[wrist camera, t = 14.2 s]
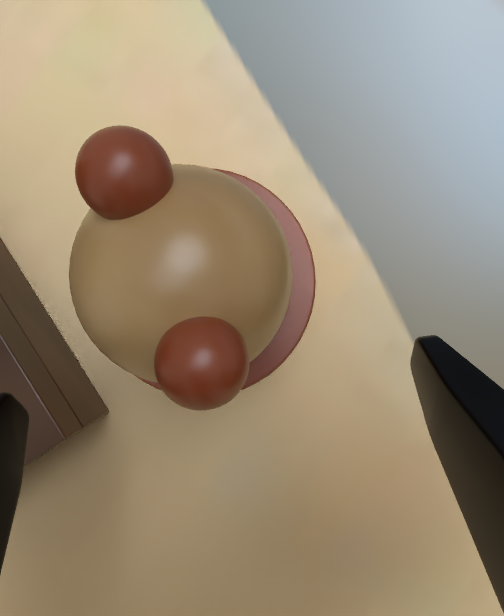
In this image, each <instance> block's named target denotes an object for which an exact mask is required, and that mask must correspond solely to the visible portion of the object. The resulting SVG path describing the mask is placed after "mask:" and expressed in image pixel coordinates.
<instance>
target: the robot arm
mask: <svg viewBox="0 0 504 616" xmlns="http://www.w3.org/2000/svg"><path fill="white" fill-rule="evenodd" d="M411 371H412V375H413V378H414V382H415V385H416V389H417V392H418V396H419V399H420V403H421V406H422V410H423V413H424V417H425V420H426V424H427V427H428V430H429V434H430V436H431V439H432V442H433V444H434V447H435V449H436V452H437V454H438V456H439V459H440V461H441V464H442V466H443V468H444V471H445V473H446V476H447V478H448V480H449V483H450V485H451V488H452V490H453V492H454V495H455V497H456V500H457V502H458V504H459V507H460V509H461V512H462V514H463V517H464V519H465V521H466V524H467V526H468V529H469V531H470V533H471V536H472V538H473V541H474V543H475V545H476V548H477V550H478V553H479V555H480V557H481V560H482V562H483V565H484V567H485V569H486V572H487V574H488V577H489V579H490V581H491V584H492V586H493V589H494V591H495V593H496V596H497V598H498V601H499V603H500V605H501V608H502V610H503V613H504V389H502V388H501V387H500V386H499V385H497V384H496V383H495V382H494V381H492V380H491V379H490V378H489V377H488V376H486V375H485V374H484V373H483V372H481V371H480V370H479V369H478V368H476V367H475V366H474V365H473V364H471V363H470V362H469V361H468V360H467V359H465V358H464V357H463V356H461V355H460V354H459V353H458V352H457V351H455V350H454V349H453V348H452V347H451V346H449V345H448V344H447V343H446V342H444V341H443V340H442V339H441V338H439V337H437V336H435V335H431V336H423V337H418V338H417V339H416V340H415V343H414V347H413V352H412V357H411ZM29 420H30V419H29V413H28V411H27V410H26V409H25V407H24V406H23V405H22V404H21V403H20V402H19V401H18V400H17V399H16V398H15V397H14V396H13V395H12V394H11V393H9V392H2V393H0V574H1V569H2V565H3V561H4V557H5V552H6V548H7V544H8V540H9V536H10V531H11V527H12V523H13V519H14V514H15V510H16V506H17V502H18V498H19V493H20V488H21V483H22V477H23V469H24V462H25V454H26V446H27V438H28V430H29Z"/></svg>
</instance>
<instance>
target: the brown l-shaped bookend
mask: <svg viewBox="0 0 504 616" xmlns="http://www.w3.org/2000/svg"><path fill="white" fill-rule="evenodd" d="M2 392H9V393H11V394H12V395H13V396H14V397H15V398H16V399H17V400H18V401H19V402H20V403H21V404H22V405H23V406H24V407H25V409H26V410H27V411H28V413H29V419H30V420H29V430H28V438H27V446H26V454H25V462H24V467H25V466H26V465H28V464H29V463H31V462H32V461H34V460H36V459H37V458H39V457H40V456H42V455H43V454H45V453H46V452H48V451H50V450H51V449H53V448H54V447H56V446H57V445H59V444H60V443H62V442H64V441H65V440H67V439H68V438H70V437H71V436H73V435H74V434H76V433H78V432H79V431H81V430H82V429H84V428H85V427H87V426H88V425H90V424H92V423H93V422H95V421H96V420H98V419H99V418H101V417H102V416H104V415H106V414H107V413H108V412H109V411H108V409H107V407H106V406H105V404H104V403H103V401H102V399H101V398H100V396H99V395H98V393H97V392H96V390H95V388H94V387H93V385H92V384H91V382H90V380H89V379H88V377H87V376H86V374H85V372H84V371H83V369H82V368H81V366H80V364H79V363H78V361H77V360H76V358H75V357H74V355H73V353H72V352H71V350H70V349H69V347H68V345H67V344H66V342H65V341H64V339H63V337H62V336H61V334H60V333H59V331H58V329H57V328H56V326H55V325H54V323H53V322H52V320H51V318H50V317H49V315H48V314H47V312H46V310H45V309H44V307H43V306H42V304H41V302H40V301H39V299H38V298H37V296H36V294H35V293H34V291H33V290H32V288H31V287H30V285H29V283H28V282H27V280H26V279H25V277H24V275H23V274H22V272H21V271H20V269H19V267H18V266H17V264H16V263H15V261H14V260H13V258H12V256H11V255H10V253H9V252H8V250H7V248H6V247H5V245H4V244H3V242H2V240H1V239H0V393H2Z"/></svg>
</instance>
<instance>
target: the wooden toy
mask: <svg viewBox="0 0 504 616" xmlns="http://www.w3.org/2000/svg"><path fill="white" fill-rule="evenodd" d="M75 177H76V182H77V185H78V188H79V191H80V193H81V195H82V197H83V199H84V200H85V202H86V203H87V204H88V205H89V206H90V208H91V209H90V210H89V212H88V213H87V215H86V217H85V218H84V220H83V221H82V223H81V226H80V228H79V230H78V232H77V234H76V237H75V240H74V243H73V247H72V252H71V257H70V269H69V279H70V290H71V296H72V301H73V304H74V307H75V310H76V313H77V316H78V318H79V320H80V322H81V324H82V326H83V328H84V330H85V331H86V333H87V334H88V336H89V338H90V339H91V340H92V342H93V343H94V344H95V345H96V346H97V347H98V349H99V350H100V351H101V352H102V353H103V354H105V355H106V356H107V357H108V358H109V359H110V360H111V361H113V362H114V363H115V364H117V365H118V366H120V367H121V368H123V369H124V370H126V371H128V372H130V373H132V374H133V375H134V376H136V377H137V378H139V379H140V380H142V381H143V382H145V383H147V384H149V385H151V386H153V387H155V388H157V389H160V390H163V392H164V393H165V394H166V395H167V396H168V397H169V398H170V399H171V400H172V401H174V402H175V403H176V404H178V405H180V406H182V407H185V408H188V409H192V410H200V411H201V410H210V409H214V408H217V407H220V406H222V405H224V404H226V403H228V402H229V401H231V400H232V399H233V398H234V397H235V396H236V395H237V394H238V393H239V391H240V390H243V389H245V388H247V387H249V386H251V385H253V384H255V383H257V382H259V381H260V380H262V379H264V378H265V377H267V376H268V375H270V374H271V373H272V372H273V371H274V370H275V369H277V368H278V367H279V366H280V365H281V364H282V363H283V362H284V361H285V360H286V359H287V357H288V356H289V355H290V354H291V353H292V351H293V350H294V348H295V347H296V345H297V344H298V342H299V341H300V339H301V337H302V335H303V333H304V331H305V329H306V327H307V324H308V321H309V318H310V315H311V313H312V308H313V303H314V298H315V283H316V281H315V267H314V262H313V257H312V252H311V249H310V246H309V243H308V240H307V238H306V236H305V234H304V232H303V230H302V228H301V226H300V224H299V222H298V221H297V219H296V218H295V216H294V215H293V213H292V212H291V211H290V210H289V209H288V207H287V206H286V205H285V204H284V203H283V202H282V201H281V200H280V199H279V198H278V197H277V196H275V195H274V194H273V193H272V192H271V191H270V190H268V189H267V188H265V187H263V186H262V185H260V184H259V183H257V182H255V181H253V180H251V179H249V178H247V177H245V176H242V175H239V174H236V173H233V172H230V171H225V170H219V169H210V168H207V167H201V166H196V165H182V164H174V165H171V163H170V160H169V158H168V156H167V154H166V152H165V150H164V149H163V147H162V146H161V145H160V144H159V143H158V142H157V141H156V140H155V139H154V138H153V137H152V136H150V135H149V134H147V133H145V132H144V131H141V130H139V129H136V128H133V127H129V126H111V127H107V128H104V129H101V130H99V131H97V132H96V133H94V134H93V135H91V136H90V137H89V138H88V139H87V140H86V141H85V143H84V144H83V146H82V147H81V149H80V151H79V153H78V156H77V159H76V166H75Z"/></svg>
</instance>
